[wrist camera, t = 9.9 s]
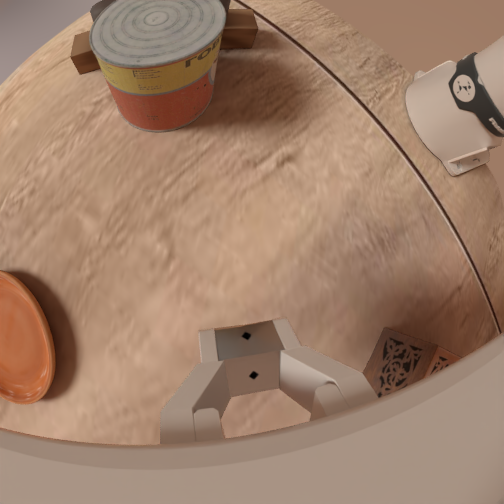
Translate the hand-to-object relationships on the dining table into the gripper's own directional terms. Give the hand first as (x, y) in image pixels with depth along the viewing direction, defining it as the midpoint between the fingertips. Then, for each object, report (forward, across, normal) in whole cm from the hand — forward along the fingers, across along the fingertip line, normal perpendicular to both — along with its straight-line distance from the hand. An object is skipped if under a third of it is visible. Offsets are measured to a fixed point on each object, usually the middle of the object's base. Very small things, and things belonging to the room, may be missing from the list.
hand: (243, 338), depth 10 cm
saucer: (+16, +26, +11) cm, 32 cm away
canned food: (+27, +4, -12) cm, 30 cm away
